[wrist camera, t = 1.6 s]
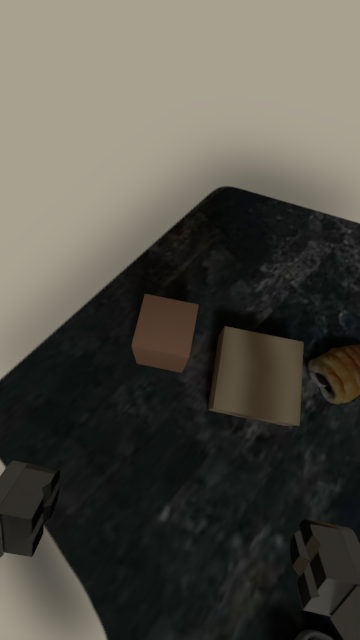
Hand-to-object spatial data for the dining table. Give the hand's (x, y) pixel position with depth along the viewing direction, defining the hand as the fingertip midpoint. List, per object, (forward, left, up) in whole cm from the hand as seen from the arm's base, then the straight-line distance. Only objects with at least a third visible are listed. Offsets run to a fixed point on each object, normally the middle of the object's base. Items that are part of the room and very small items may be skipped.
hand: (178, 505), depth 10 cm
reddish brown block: (+2, -12, -28) cm, 31 cm away
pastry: (-21, -14, -28) cm, 38 cm away
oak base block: (-10, -10, -28) cm, 31 cm away
